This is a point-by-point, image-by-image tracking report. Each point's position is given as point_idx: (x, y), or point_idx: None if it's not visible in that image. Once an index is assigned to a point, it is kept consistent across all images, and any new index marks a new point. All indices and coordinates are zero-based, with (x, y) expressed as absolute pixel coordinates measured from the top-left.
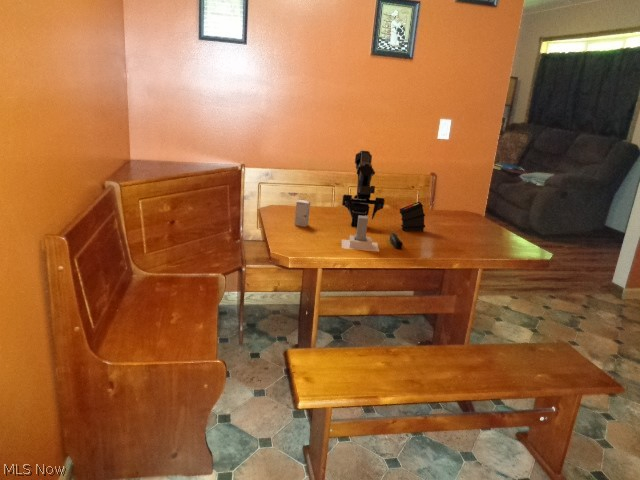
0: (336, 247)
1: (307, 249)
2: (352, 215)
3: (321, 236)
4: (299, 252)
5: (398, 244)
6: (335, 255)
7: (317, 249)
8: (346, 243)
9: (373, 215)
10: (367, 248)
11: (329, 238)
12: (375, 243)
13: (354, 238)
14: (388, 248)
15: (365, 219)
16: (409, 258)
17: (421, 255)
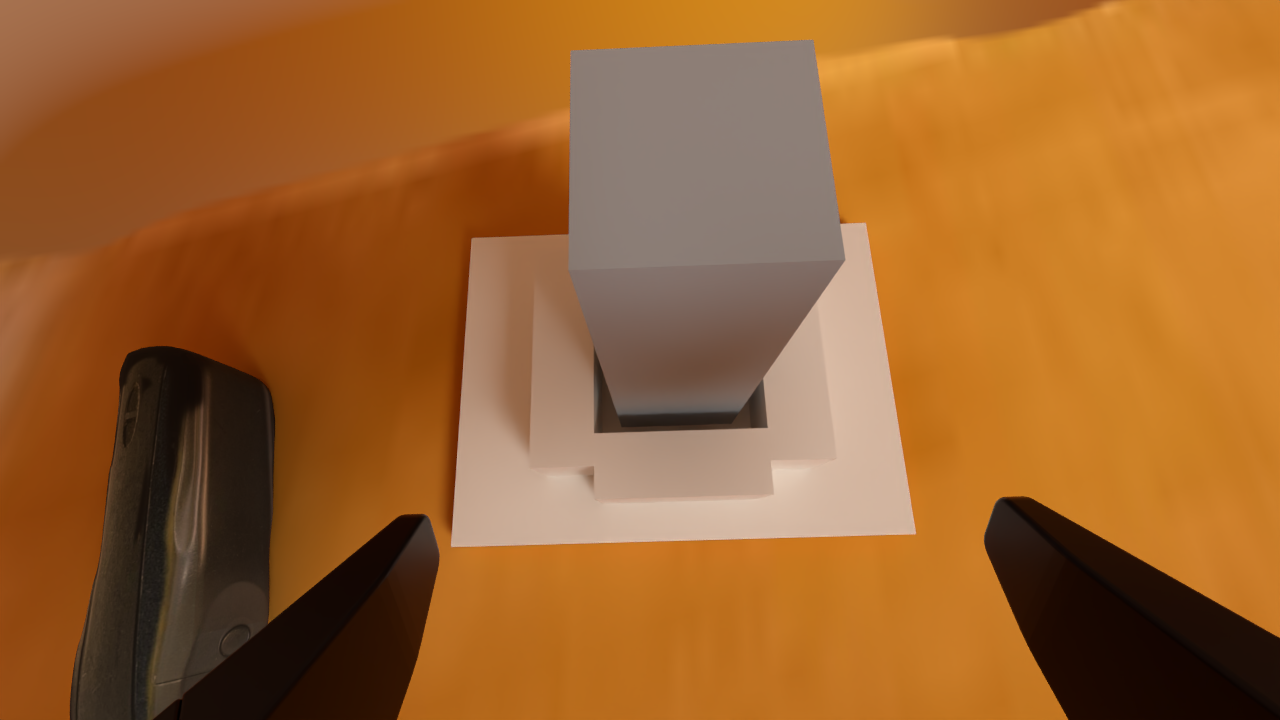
0: (923, 306)
1: (1186, 165)
2: (1016, 513)
3: None
4: (1222, 76)
5: (194, 353)
6: (891, 98)
7: (1094, 193)
8: (835, 389)
9: (357, 566)
10: None
11: None
12: (476, 505)
13: None
14: (338, 453)
15: (635, 70)
16: (192, 218)
17: (26, 335)
